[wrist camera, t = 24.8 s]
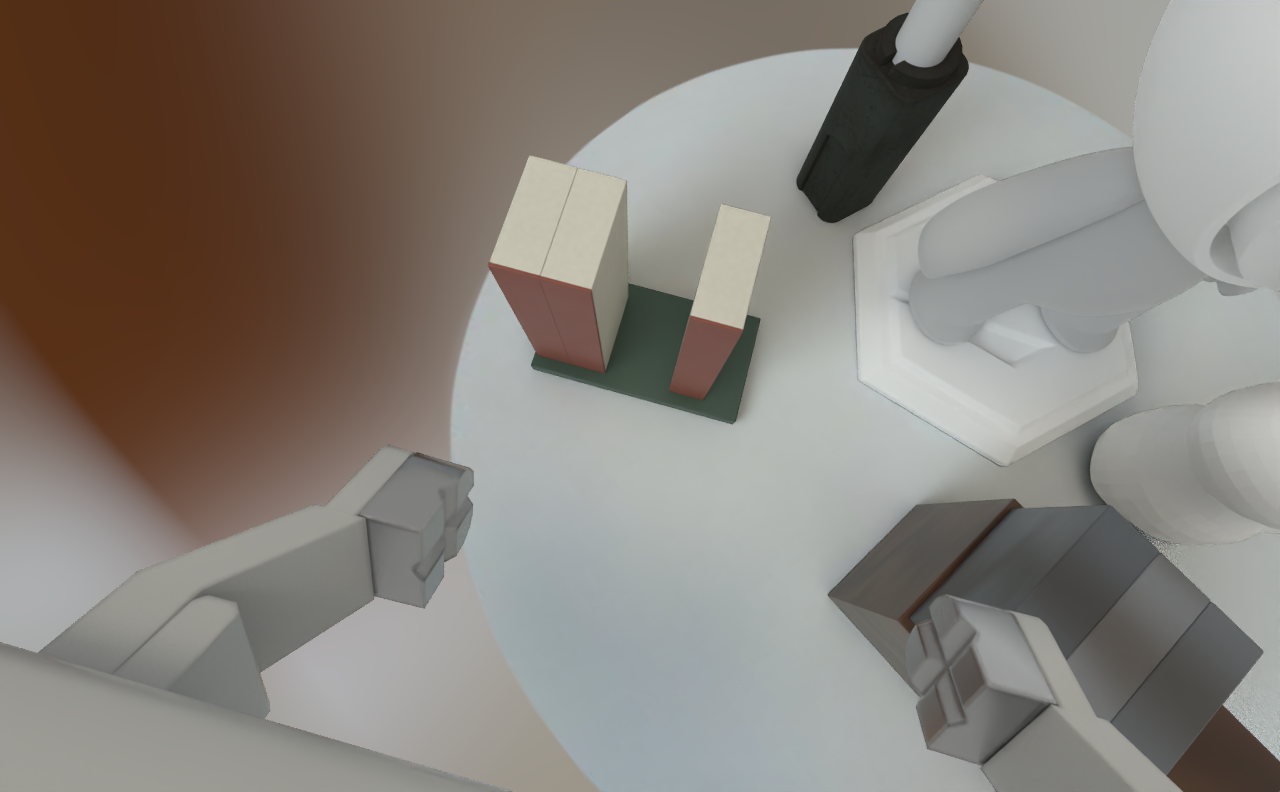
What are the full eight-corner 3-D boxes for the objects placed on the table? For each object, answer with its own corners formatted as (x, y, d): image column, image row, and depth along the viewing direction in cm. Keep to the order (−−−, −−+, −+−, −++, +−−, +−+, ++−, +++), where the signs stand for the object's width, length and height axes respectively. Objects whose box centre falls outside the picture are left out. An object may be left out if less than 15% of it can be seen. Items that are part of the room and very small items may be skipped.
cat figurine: (1081, 390, 40) (1338, 314, 26) (1250, 466, 39) (1620, 431, 24) (1046, 502, 38) (1303, 489, 24) (1223, 584, 37) (1606, 624, 23)
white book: (703, 400, 39) (742, 333, 25) (668, 390, 39) (689, 318, 25) (723, 321, 40) (771, 216, 26) (690, 312, 40) (721, 203, 26)
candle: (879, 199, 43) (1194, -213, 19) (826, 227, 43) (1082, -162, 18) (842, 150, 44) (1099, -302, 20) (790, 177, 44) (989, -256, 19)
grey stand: (1022, 811, 34) (1355, 1056, 18) (826, 594, 37) (971, 647, 21) (1111, 705, 35) (1489, 848, 20) (916, 504, 38) (1114, 491, 23)
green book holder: (732, 424, 39) (793, 365, 25) (533, 369, 40) (476, 280, 25) (757, 323, 41) (827, 212, 26) (566, 271, 42) (530, 136, 27)
